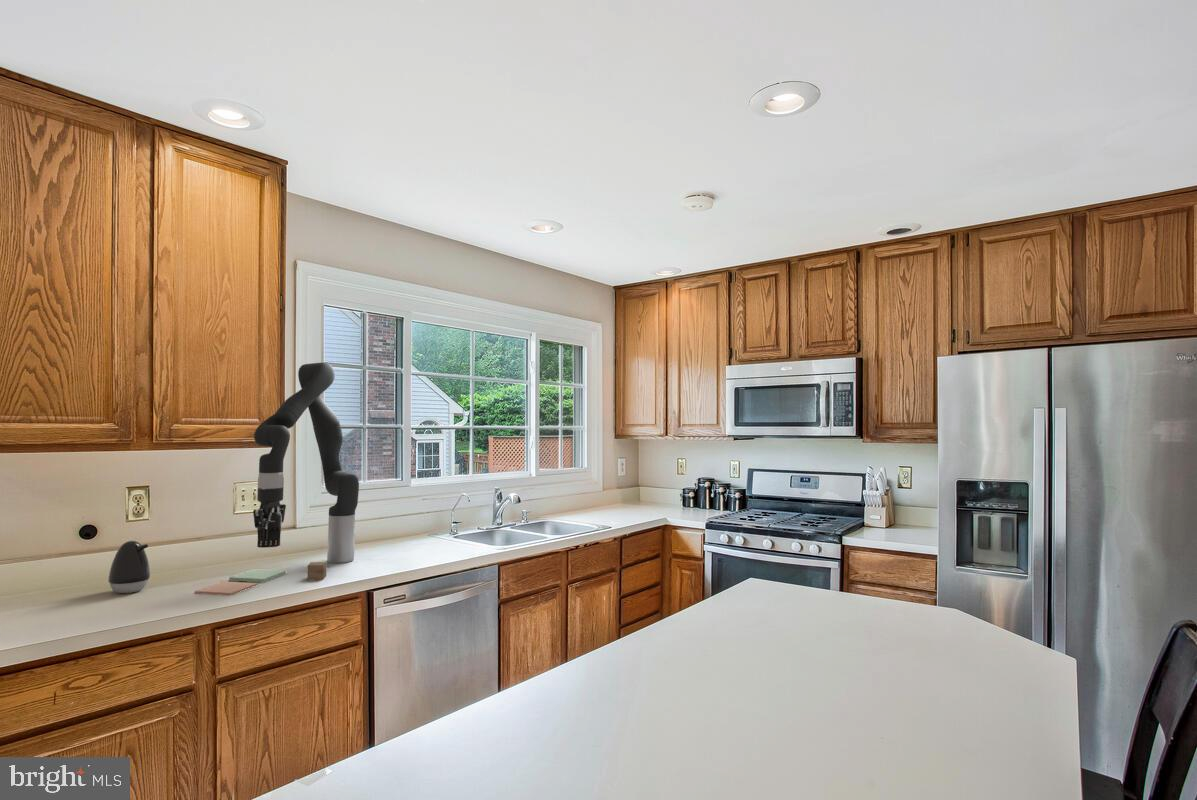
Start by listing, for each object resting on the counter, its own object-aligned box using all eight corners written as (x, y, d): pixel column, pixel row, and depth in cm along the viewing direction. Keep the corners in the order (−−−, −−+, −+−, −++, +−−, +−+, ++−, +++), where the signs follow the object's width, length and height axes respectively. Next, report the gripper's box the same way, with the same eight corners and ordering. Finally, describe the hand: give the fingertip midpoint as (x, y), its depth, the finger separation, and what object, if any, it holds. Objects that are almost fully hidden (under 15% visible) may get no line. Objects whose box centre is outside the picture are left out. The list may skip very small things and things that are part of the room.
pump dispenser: (132, 596, 188) (134, 544, 188) (98, 595, 189) (101, 543, 189) (158, 587, 198) (160, 538, 199) (126, 586, 199) (128, 537, 199)
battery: (255, 548, 204) (256, 512, 205) (257, 546, 208) (258, 511, 208) (279, 547, 206) (280, 512, 207) (281, 545, 210) (282, 510, 210)
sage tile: (253, 572, 220) (253, 568, 220) (285, 574, 218) (286, 570, 218) (229, 580, 208) (229, 577, 208) (263, 582, 206) (263, 579, 206)
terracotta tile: (223, 585, 205) (223, 581, 205) (257, 587, 203) (257, 583, 203) (194, 595, 193) (194, 591, 193) (230, 597, 191) (231, 593, 191)
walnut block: (310, 576, 216) (310, 562, 216) (326, 576, 217) (326, 561, 217) (307, 580, 211) (307, 565, 211) (323, 580, 212) (323, 564, 212)
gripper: (273, 483, 215) (271, 534, 215) (245, 488, 201) (243, 542, 201) (294, 484, 214) (292, 535, 214) (267, 489, 200) (266, 543, 200)
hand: (269, 538), depth 207 cm, fingers closed on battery, 5 cm apart
